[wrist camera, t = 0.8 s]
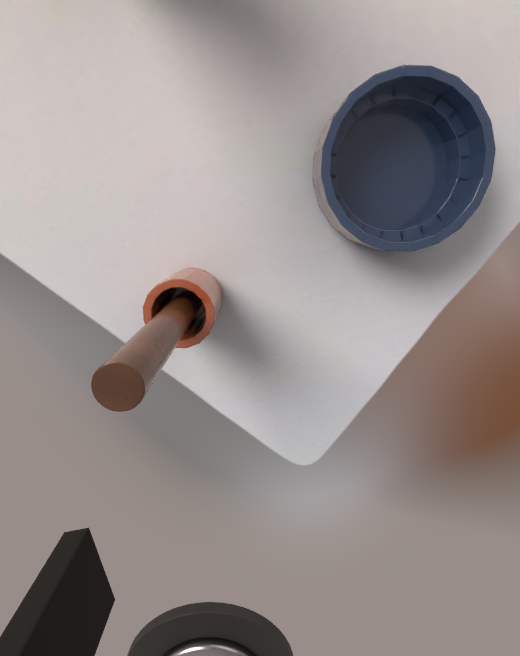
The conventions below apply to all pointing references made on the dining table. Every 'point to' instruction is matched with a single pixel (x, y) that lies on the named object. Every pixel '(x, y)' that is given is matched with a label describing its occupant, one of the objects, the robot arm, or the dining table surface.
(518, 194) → the dining table surface
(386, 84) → the bowl
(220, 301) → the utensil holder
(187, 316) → the stirring stick
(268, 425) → the dining table surface
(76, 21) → the dining table surface
